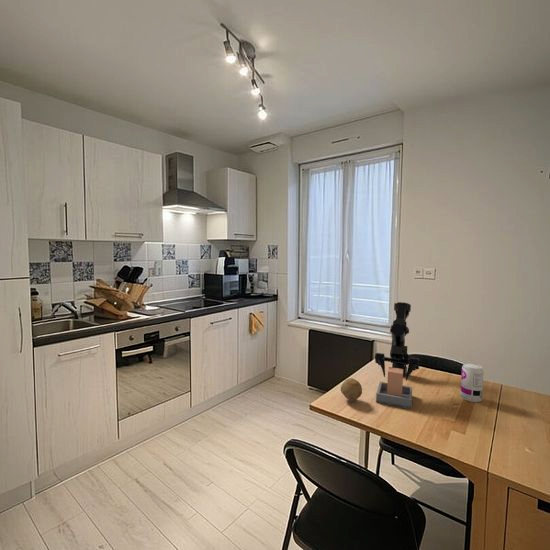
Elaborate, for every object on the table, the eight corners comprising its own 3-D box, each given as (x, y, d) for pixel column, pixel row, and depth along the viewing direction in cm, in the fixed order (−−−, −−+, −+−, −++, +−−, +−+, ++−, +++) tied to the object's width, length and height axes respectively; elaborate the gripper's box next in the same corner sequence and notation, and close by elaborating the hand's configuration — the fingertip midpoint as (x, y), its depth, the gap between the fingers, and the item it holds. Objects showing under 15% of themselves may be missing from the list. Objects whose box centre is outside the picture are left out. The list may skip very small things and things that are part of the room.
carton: (387, 392, 145) (388, 367, 144) (402, 395, 143) (403, 369, 142) (386, 398, 140) (387, 371, 139) (401, 401, 137) (402, 373, 136)
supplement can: (460, 400, 141) (462, 367, 140) (459, 393, 148) (461, 361, 147) (482, 404, 137) (484, 370, 136) (480, 397, 144) (482, 364, 143)
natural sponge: (336, 401, 138) (337, 378, 138) (346, 394, 145) (347, 373, 144) (355, 408, 132) (356, 384, 132) (365, 400, 139) (366, 378, 138)
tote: (376, 402, 138) (376, 393, 137) (379, 389, 150) (379, 381, 150) (411, 409, 132) (411, 399, 132) (411, 395, 145) (412, 387, 144)
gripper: (376, 335, 148) (372, 366, 139) (420, 340, 140) (419, 373, 131) (377, 347, 156) (373, 377, 147) (419, 353, 148) (418, 385, 139)
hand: (395, 378), depth 141 cm, fingers open, 9 cm apart
